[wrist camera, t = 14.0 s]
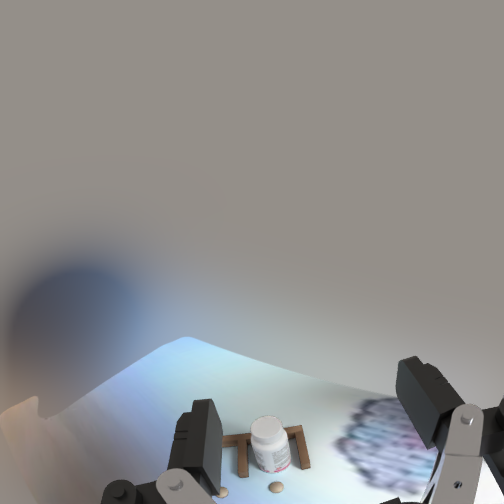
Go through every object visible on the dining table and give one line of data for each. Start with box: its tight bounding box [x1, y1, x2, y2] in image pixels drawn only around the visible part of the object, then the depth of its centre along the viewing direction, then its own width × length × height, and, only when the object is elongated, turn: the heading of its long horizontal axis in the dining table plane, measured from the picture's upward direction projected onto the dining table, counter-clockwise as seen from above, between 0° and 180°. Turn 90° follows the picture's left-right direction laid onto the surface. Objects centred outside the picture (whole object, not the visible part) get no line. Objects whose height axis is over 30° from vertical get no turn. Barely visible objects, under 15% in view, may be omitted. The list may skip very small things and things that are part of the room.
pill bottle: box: [250, 416, 291, 473], centre depth 35 cm, size 5×5×8 cm
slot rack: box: [216, 425, 310, 498], centre depth 36 cm, size 18×11×2 cm, turn 92°
